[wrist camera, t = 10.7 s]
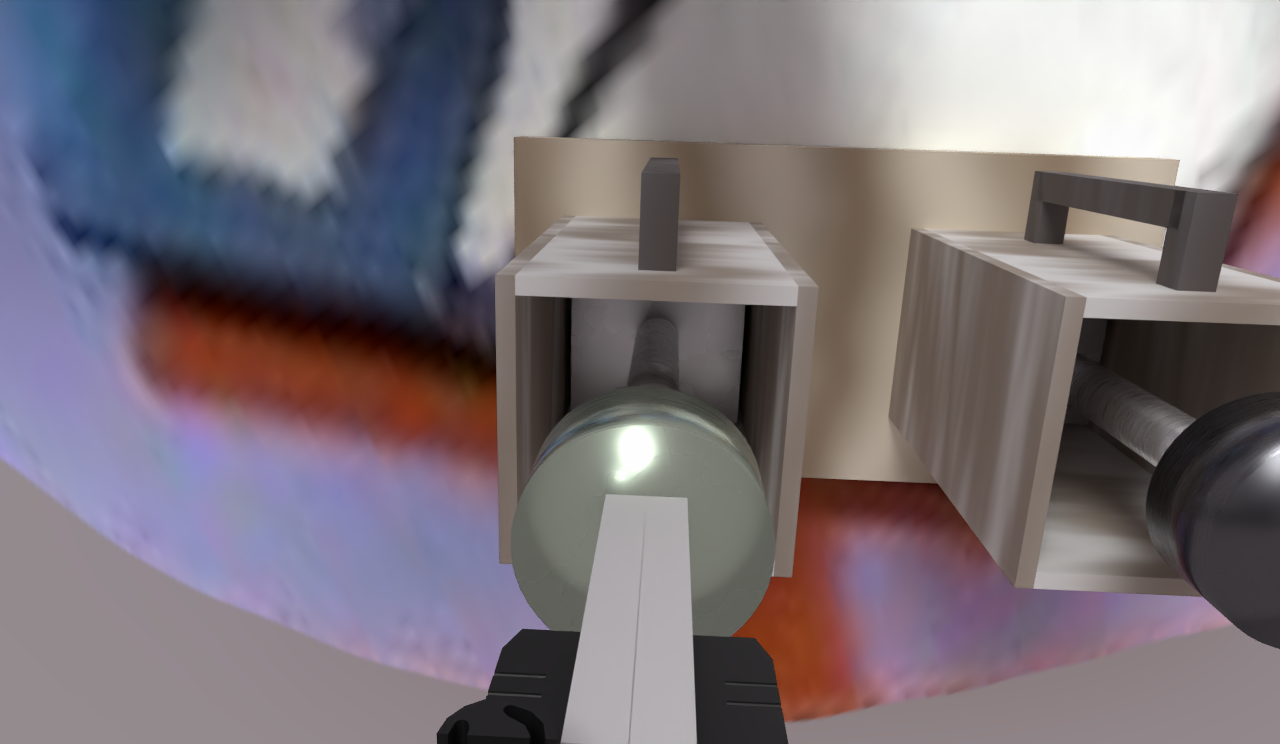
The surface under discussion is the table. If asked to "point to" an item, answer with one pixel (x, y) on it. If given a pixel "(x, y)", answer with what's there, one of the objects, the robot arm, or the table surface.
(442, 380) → the table surface
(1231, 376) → the stand
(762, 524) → the plunger
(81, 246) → the table surface
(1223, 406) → the plunger
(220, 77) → the table surface
